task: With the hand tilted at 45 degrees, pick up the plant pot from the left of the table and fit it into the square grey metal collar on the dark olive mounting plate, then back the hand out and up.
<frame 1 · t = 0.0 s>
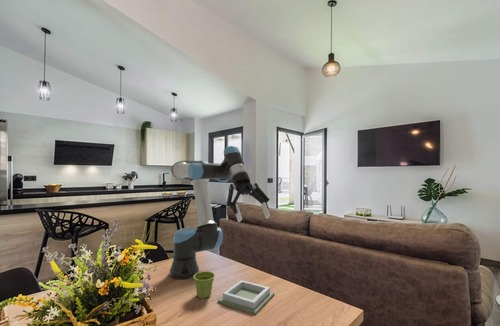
hand: (254, 219, 105), 36 cm above the table, tool tilted 35°, fingers open, 13 cm apart
plant pot: (204, 295, 114), on the table
chute mount: (246, 298, 112), on the table
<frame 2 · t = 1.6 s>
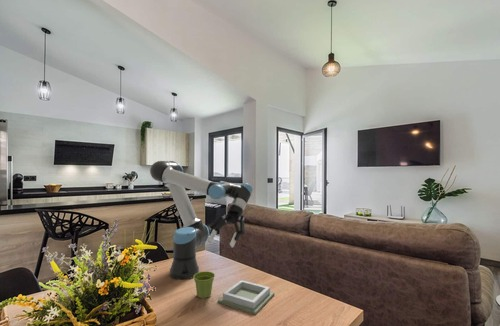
hand: (219, 244, 124), 20 cm above the table, tool tilted 45°, fingers open, 13 cm apart
nothing on the table moved.
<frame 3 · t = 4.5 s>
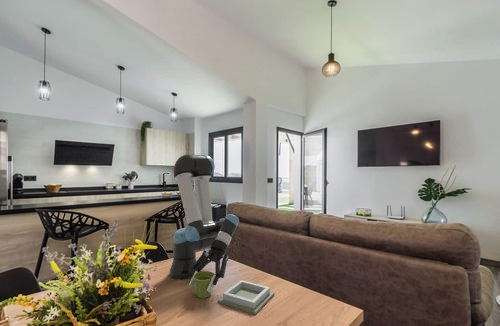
hand: (199, 289, 112), 4 cm above the table, tool tilted 45°, fingers closed on plant pot, 9 cm apart
plant pot: (203, 295, 114), on the table, touching gripper
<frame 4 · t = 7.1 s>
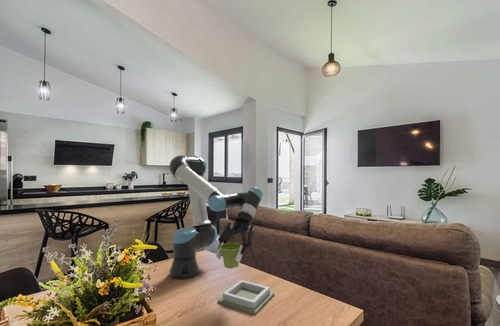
hand: (227, 259, 109), 18 cm above the table, tool tilted 45°, fingers closed on plant pot, 9 cm apart
plant pot: (231, 266, 112), point 14 cm above the table, touching gripper
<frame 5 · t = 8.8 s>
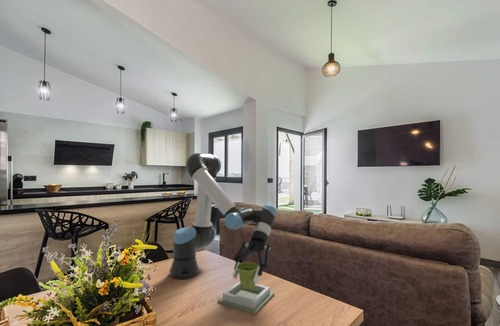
hand: (244, 280, 109), 9 cm above the table, tool tilted 45°, fingers closed on plant pot, 9 cm apart
plant pot: (247, 286, 112), point 5 cm above the table, touching gripper
when the fingers open (6 cm above the table, at t = 9.8 s): plant pot drops 1 cm, resting on chute mount.
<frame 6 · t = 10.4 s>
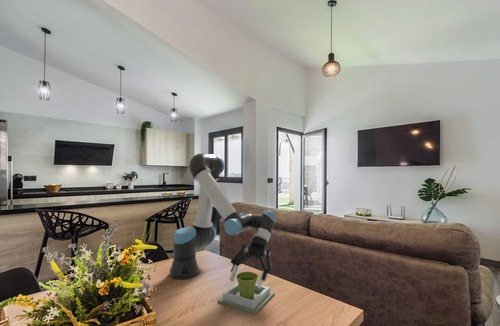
hand: (244, 283, 110), 7 cm above the table, tool tilted 45°, fingers open, 13 cm apart
plant pot: (246, 296, 112), point 1 cm above the table, touching chute mount
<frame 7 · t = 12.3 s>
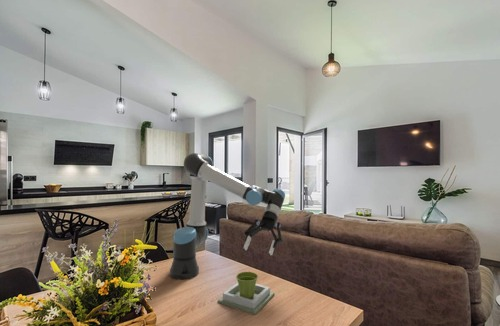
hand: (257, 251, 122), 17 cm above the table, tool tilted 45°, fingers open, 13 cm apart
nothing on the table moved.
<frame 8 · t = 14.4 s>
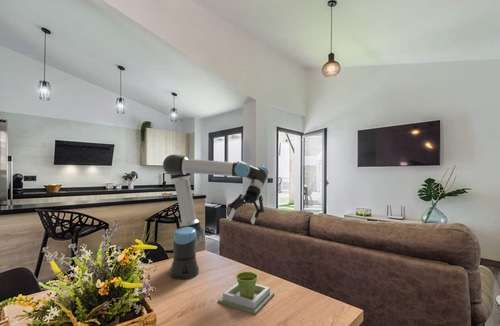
hand: (240, 221, 130), 30 cm above the table, tool tilted 45°, fingers open, 13 cm apart
nothing on the table moved.
at the end: plant pot 0.0 cm off-centre on the chute mount, point 0.8 cm above the chute mount's base; plant pot tilted 0°; the gripper is holding nothing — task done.
